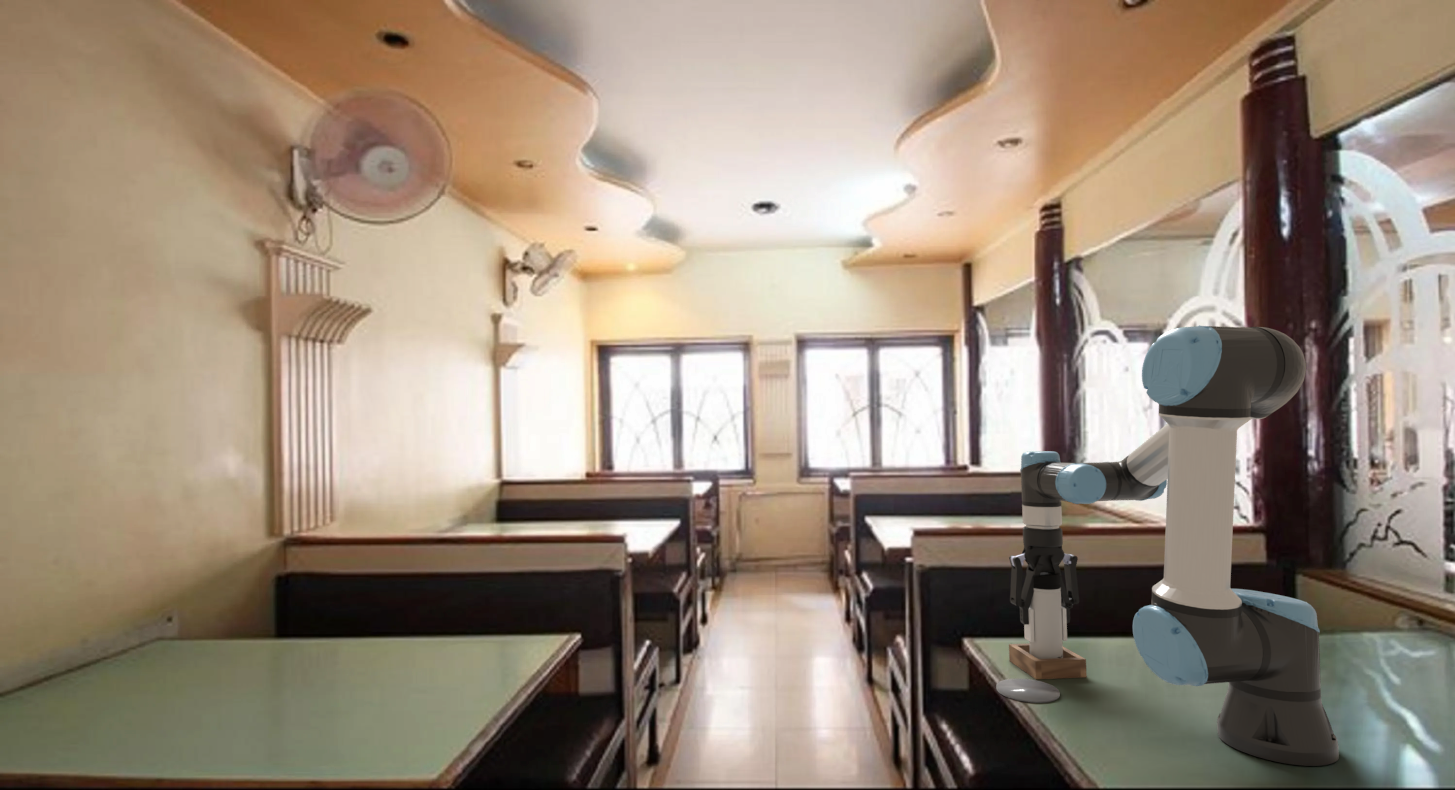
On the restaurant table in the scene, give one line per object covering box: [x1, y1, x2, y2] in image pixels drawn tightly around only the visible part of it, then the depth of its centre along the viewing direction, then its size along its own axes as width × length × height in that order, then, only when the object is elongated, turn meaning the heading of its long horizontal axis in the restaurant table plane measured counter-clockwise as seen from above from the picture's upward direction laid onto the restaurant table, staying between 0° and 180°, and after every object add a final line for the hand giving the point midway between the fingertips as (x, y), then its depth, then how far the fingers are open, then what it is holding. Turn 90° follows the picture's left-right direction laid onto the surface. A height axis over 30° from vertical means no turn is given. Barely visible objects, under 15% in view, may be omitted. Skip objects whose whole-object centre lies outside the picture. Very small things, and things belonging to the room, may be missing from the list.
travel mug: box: [1028, 570, 1064, 659], centre depth 152 cm, size 6×7×20 cm
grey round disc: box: [995, 678, 1061, 704], centre depth 139 cm, size 11×11×1 cm
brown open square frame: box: [1008, 643, 1088, 680], centre depth 151 cm, size 11×10×4 cm
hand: (1045, 639), depth 151 cm, fingers closed on travel mug, 6 cm apart
